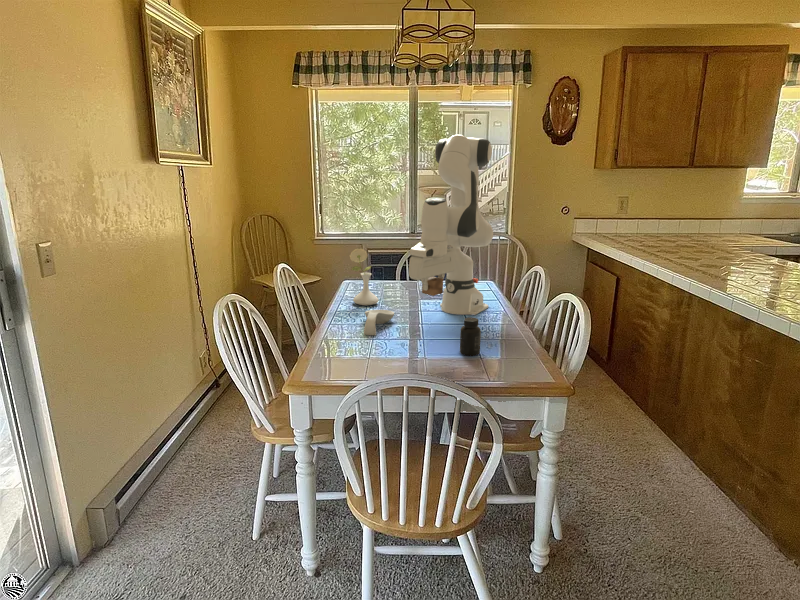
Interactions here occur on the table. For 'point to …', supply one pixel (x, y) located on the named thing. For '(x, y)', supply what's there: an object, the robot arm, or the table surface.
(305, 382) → the table surface
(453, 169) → the robot arm
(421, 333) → the table surface
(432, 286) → the walnut cube
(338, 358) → the table surface
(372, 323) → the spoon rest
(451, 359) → the table surface
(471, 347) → the supplement bottle
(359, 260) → the flower in vase
